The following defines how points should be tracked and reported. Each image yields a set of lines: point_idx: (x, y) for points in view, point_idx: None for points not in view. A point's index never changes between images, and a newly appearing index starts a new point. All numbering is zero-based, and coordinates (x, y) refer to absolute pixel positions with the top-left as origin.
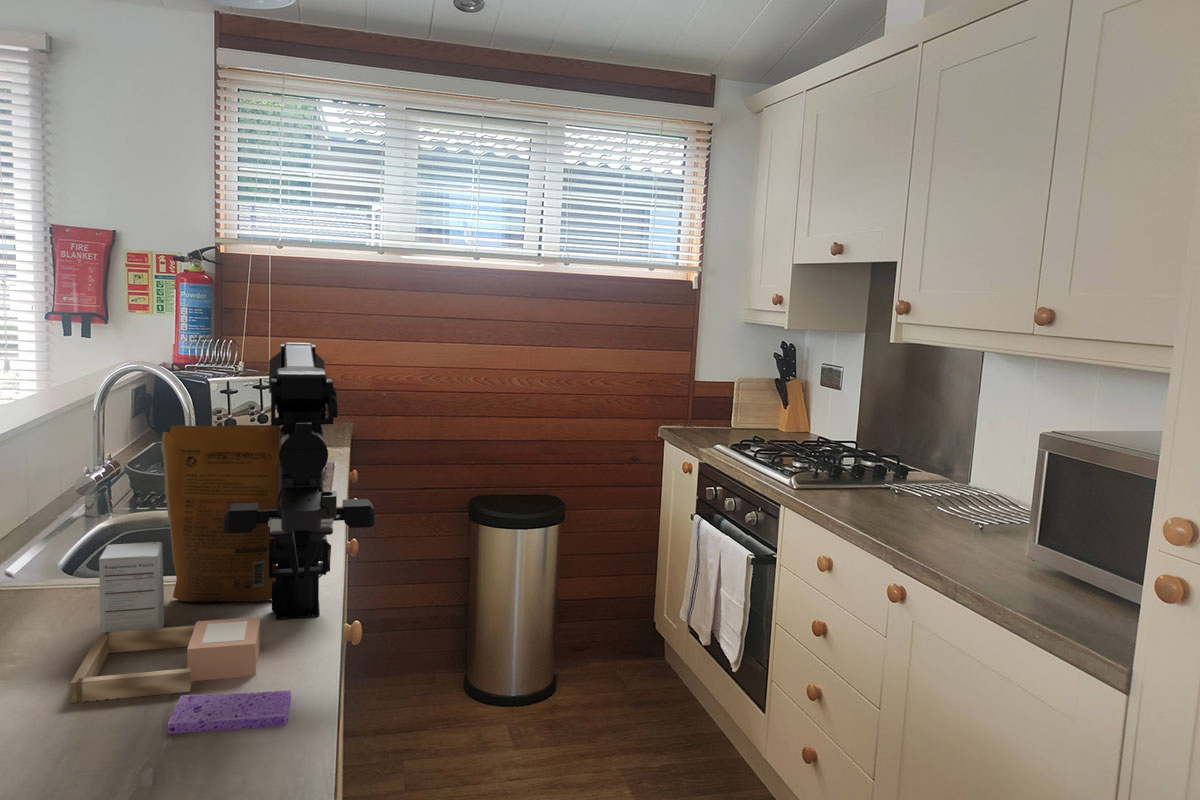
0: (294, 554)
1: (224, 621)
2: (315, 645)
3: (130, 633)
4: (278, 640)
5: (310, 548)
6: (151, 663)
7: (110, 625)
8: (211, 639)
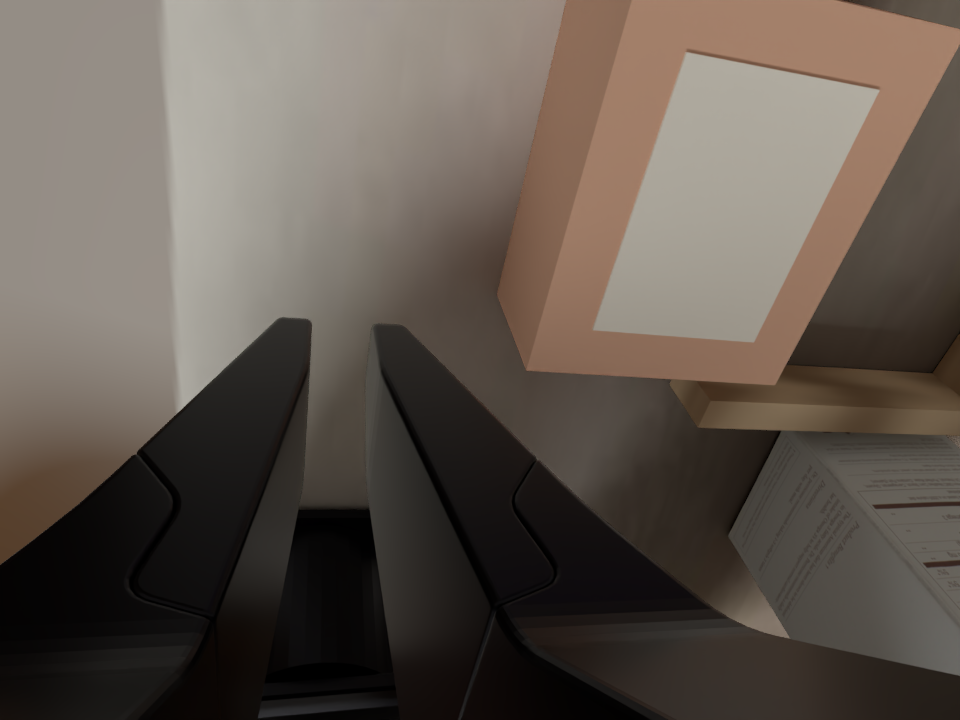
0: (453, 479)
1: (680, 357)
2: (258, 227)
3: (922, 410)
4: (416, 329)
5: (177, 538)
6: (875, 250)
7: (957, 466)
8: (819, 129)
